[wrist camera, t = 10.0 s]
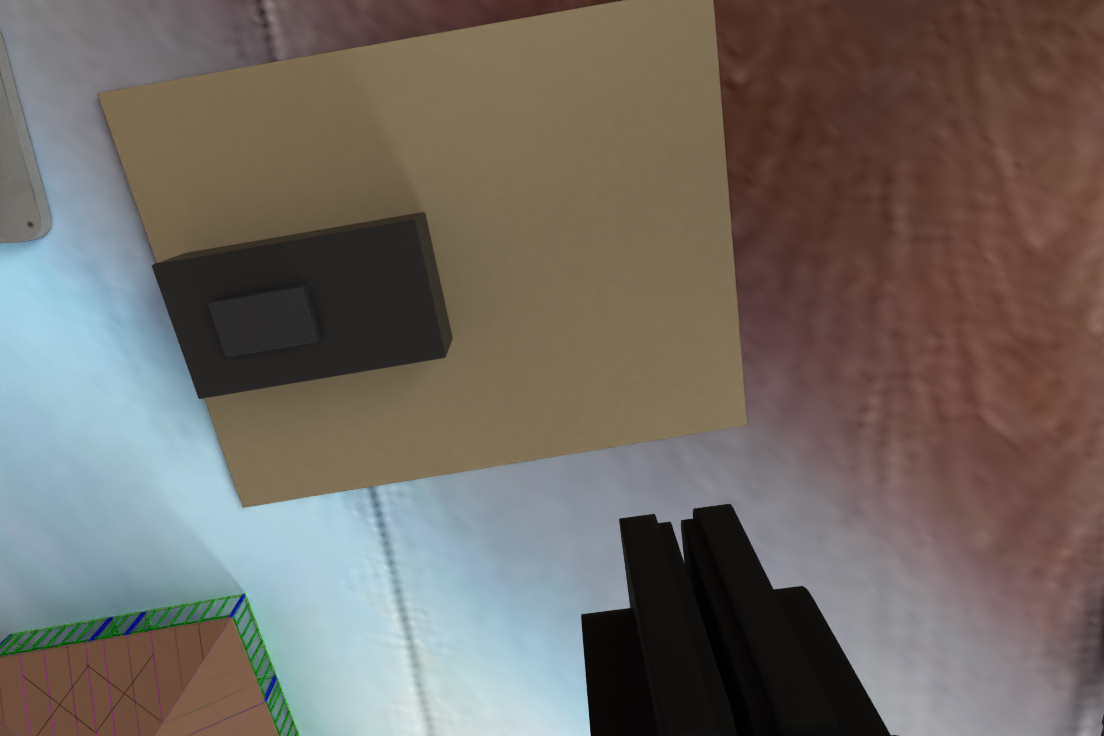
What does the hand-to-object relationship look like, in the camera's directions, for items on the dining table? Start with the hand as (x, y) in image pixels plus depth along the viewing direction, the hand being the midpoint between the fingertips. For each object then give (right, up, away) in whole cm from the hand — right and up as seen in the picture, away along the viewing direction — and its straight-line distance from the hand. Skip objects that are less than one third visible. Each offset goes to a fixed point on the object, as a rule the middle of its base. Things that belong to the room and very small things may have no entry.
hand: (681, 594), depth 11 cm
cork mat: (-7, +8, +22) cm, 24 cm away
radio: (-7, +7, +20) cm, 23 cm away
